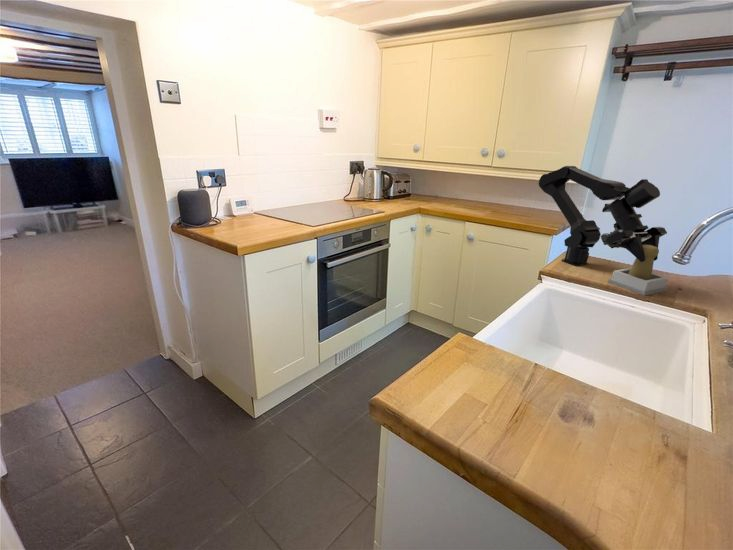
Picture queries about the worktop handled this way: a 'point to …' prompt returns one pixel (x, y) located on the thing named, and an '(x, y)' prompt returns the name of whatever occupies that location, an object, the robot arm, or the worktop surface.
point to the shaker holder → (639, 282)
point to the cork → (644, 263)
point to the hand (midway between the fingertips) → (649, 260)
